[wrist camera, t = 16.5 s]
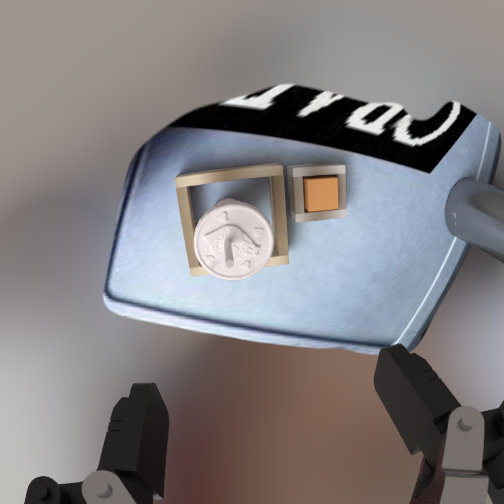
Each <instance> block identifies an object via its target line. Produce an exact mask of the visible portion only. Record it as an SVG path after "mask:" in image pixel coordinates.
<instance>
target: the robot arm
mask: <svg viewBox="0 0 504 504" xmlns="http://www.w3.org/2000/svg"><path fill="white" fill-rule="evenodd" d="M446 223H447V226H448V229H449V231H450V232H451V233H452V235H454V236H455V237H457V238H459V239H461V240H463V241H465V242H466V243H468V244H470V245H472V246H474V247H475V248H477V249H479V250H481V251H483V252H484V253H486V254H488V255H490V256H491V257H493V258H495V259H497V260H498V261H500V262H502V263H503V264H504V189H503V188H499V187H496V186H493V185H490V184H487V183H483V182H480V181H476V180H473V179H462V180H461V181H459V182H458V183H457V184H456V185H455V186H454V187H453V189H452V190H451V192H450V195H449V197H448V201H447V205H446ZM374 386H375V390H376V392H377V394H378V396H379V397H380V399H381V401H382V403H383V404H384V406H385V408H386V410H387V412H388V413H389V415H390V417H391V419H392V420H393V422H394V424H395V426H396V428H397V429H398V432H399V433H400V435H401V437H402V439H403V441H404V443H405V444H406V446H407V448H408V450H409V452H410V454H411V455H413V454H415V453H418V452H420V451H422V453H423V455H424V456H423V458H422V462H421V466H420V470H419V473H418V477H417V481H416V484H415V488H414V491H413V494H412V497H411V500H410V502H409V504H485V502H486V496H487V492H488V494H489V496H490V498H491V500H492V503H493V504H504V401H503V402H502V404H501V405H500V407H499V408H497V409H492V410H488V411H483V412H479V411H478V410H477V409H475V408H473V407H470V406H461V405H460V403H459V402H458V401H457V400H456V398H455V397H454V396H453V394H452V393H451V392H450V390H449V389H448V388H447V386H446V385H445V384H444V383H443V381H442V380H441V379H440V378H438V375H437V374H436V372H435V371H433V369H432V367H431V366H430V365H429V364H428V362H427V361H426V360H425V359H423V358H422V357H420V356H419V355H417V354H415V353H412V354H410V353H409V352H408V351H407V349H406V348H405V347H404V346H403V345H402V344H400V343H399V344H395V345H392V346H389V347H385V348H382V349H381V350H380V352H379V357H378V362H377V366H376V370H375V374H374ZM168 431H169V414H168V411H167V408H166V405H165V403H164V401H163V399H162V397H161V395H160V392H159V390H158V388H157V386H156V384H155V383H134V384H133V385H132V387H131V391H130V395H129V397H128V398H127V397H122V398H121V399H120V400H119V401H118V403H117V404H116V405H115V407H114V408H113V412H112V415H111V418H110V422H109V426H108V432H107V433H106V438H105V441H104V446H103V449H102V453H101V457H100V462H99V466H98V469H97V471H95V472H93V473H91V474H89V475H88V476H87V477H86V478H85V480H84V481H82V482H77V483H68V484H58V483H57V482H55V481H54V480H53V479H51V478H50V477H45V476H41V477H37V478H35V479H34V480H32V482H31V483H30V484H29V486H28V490H27V493H26V498H25V503H24V504H153V499H162V500H163V497H164V480H165V467H166V454H167V442H168Z"/></svg>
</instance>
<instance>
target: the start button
mask: <svg viewBox="0 0 504 504" xmlns="http://www.w3.org/2000/svg"><path fill="white" fill-rule="evenodd" d="M302 179H303V196H304V208H305V209H306V210H307V211H309V212H312V211H321V210H331V209H338V178H336V177H333V176H330V175H322V176H308V177H302Z"/></svg>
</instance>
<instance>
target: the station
mask: <svg viewBox="0 0 504 504" xmlns="http://www.w3.org/2000/svg"><path fill="white" fill-rule="evenodd" d="M286 173H287V186H288V201H289V216H290V217H291V218H292V219H293V220H294V221H295V222H296V223H299V222H308V221H317V220H326V219H335V218H345V217H346V172H345V165H343V164H338V163H318V164H302V165H288V166H286ZM322 175H330V176H333V177H336V178H338V209H331V210H321V211H312V212H309V211H307V210H306V209H305V208H304V196H303V179H302V177H308V176H322ZM267 176H268V178H269V189H270V201H271V214H272V227H273V235H274V247H273V252H272V255H271V257H270V259H269V261H268V262H267V264H266V265H265V266H264V267H269V266H276V265H283V264H289V255H288V236H287V220H286V204H285V190H284V176H283V165H281V164H279V163H268V164H258V165H248V166H239V167H230V168H222V169H214V170H206V171H199V172H192V173H186V174H179V175H177V176H176V177H175V184H176V190H177V197H178V204H179V210H180V216H181V222H182V228H183V234H184V240H185V245H186V251H187V256H188V261H189V267H190V272H191V277H193V276H201V275H208V274H211V273H209V272H208V271H207V270H206V269H205V268H204V267H203V266H202V265H201V264H200V262H199V261H198V259H197V256H196V254H195V250H194V234H195V229H196V226H195V219H194V213H193V206H192V199H191V192H190V186H193V185H200V184H207V183H215V182H223V181H231V180H239V179H248V178H257V177H267Z"/></svg>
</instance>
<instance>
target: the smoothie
mask: <svg viewBox="0 0 504 504" xmlns="http://www.w3.org/2000/svg"><path fill="white" fill-rule="evenodd" d="M273 247H274V235H273V231H272V228H271V225H270V222H269V221H268V219H267V218H266V216H265V215H264V214H263V213H262V212H261V211H260V210H259V209H257V208H256V207H254V206H252V205H250V204H248V203H245V202H240V201H238V200H237V199H234V198H225V199H222V200H220V201H219V202H217V203H216V205H215V206H214V207H212V208H211V209H209V210H208V211H207V212H206V213H205V214H204V215H203V216H202V217H201V219H200V220H199V222H198V224H197V226H196V229H195V234H194V250H195V254H196V256H197V259H198V261H199V262H200V264H201V265H202V266H203V267H204V268H205V269H206V270H207V271H208V272H209V273H211V274H212V275H214V276H216V277H219V278H222V279H226V280H240V279H245V278H248V277H250V276H252V275H254V274H256V273H257V272H259V271H260V270H261V269H262V268H263V267H264V266H265V265H266V264H267V262H268V261H269V259H270V257H271V255H272V252H273Z"/></svg>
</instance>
